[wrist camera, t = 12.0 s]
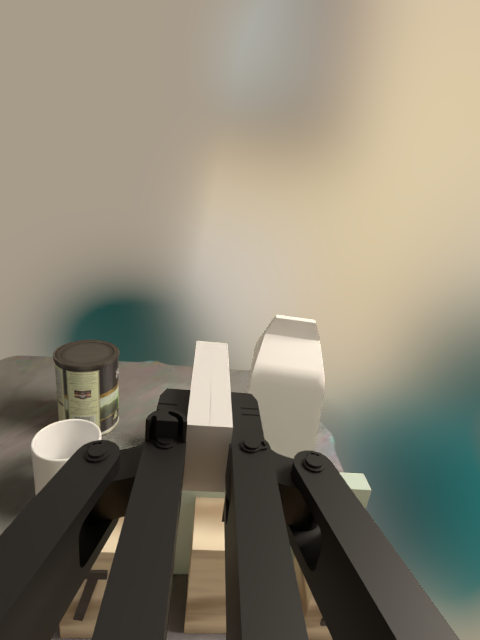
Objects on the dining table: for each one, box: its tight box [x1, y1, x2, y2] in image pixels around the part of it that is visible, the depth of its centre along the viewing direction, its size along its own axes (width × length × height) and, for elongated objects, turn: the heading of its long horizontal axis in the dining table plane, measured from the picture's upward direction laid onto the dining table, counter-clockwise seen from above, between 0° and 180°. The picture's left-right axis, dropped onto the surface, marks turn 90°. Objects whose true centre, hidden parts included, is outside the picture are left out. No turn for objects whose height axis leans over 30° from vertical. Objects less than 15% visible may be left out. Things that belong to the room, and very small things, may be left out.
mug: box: [31, 419, 101, 495], centre depth 51 cm, size 12×8×10 cm
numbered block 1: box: [293, 557, 333, 640], centre depth 39 cm, size 6×6×12 cm
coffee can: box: [53, 340, 119, 436], centre depth 65 cm, size 10×10×14 cm
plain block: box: [184, 497, 226, 633], centre depth 39 cm, size 6×6×12 cm
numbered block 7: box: [59, 517, 124, 638], centre depth 37 cm, size 6×6×12 cm
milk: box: [246, 315, 325, 459], centre depth 59 cm, size 12×12×26 cm
